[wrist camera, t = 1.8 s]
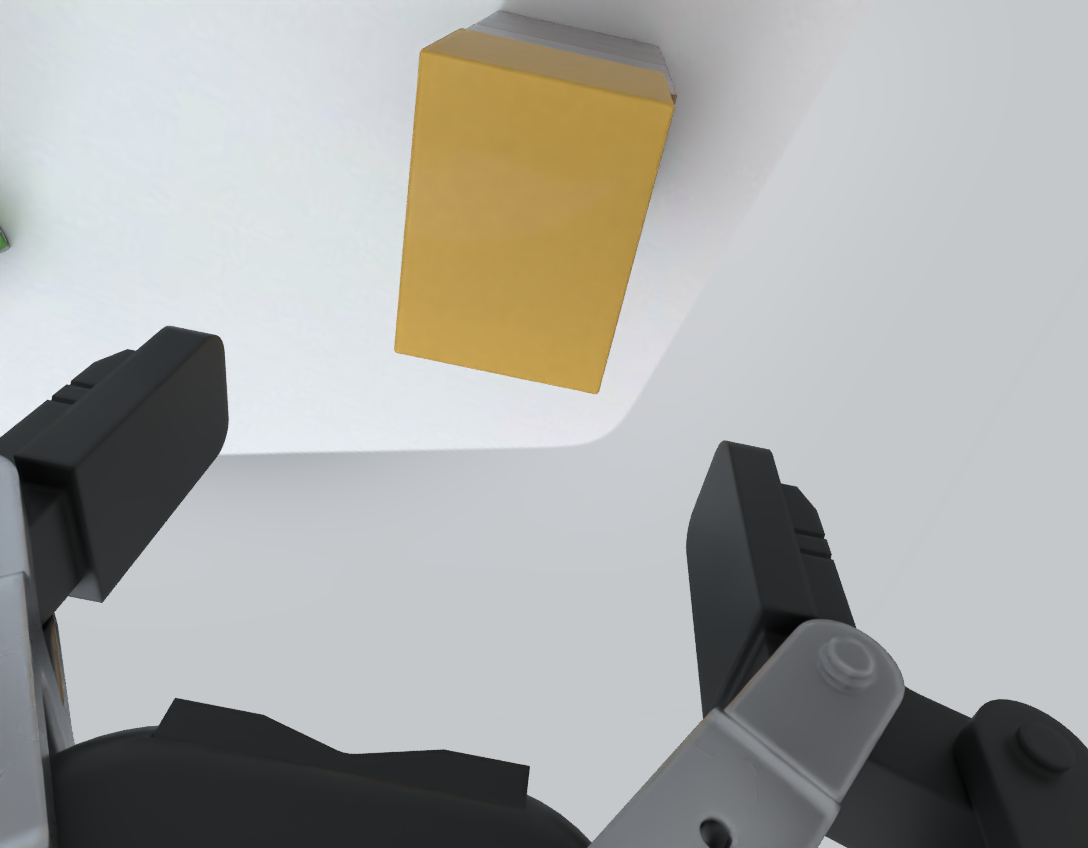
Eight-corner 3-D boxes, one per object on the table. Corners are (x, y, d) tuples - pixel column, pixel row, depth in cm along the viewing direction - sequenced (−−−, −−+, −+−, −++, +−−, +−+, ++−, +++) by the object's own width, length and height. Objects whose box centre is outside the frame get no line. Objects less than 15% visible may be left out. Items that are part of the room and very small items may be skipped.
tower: (497, 9, 32) (439, 42, 22) (659, 46, 32) (677, 94, 22) (475, 176, 35) (417, 269, 25) (620, 207, 36) (619, 312, 26)
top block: (430, 285, 26) (392, 353, 21) (459, 27, 21) (419, 48, 17) (601, 322, 26) (597, 395, 22) (665, 72, 21) (675, 104, 17)
